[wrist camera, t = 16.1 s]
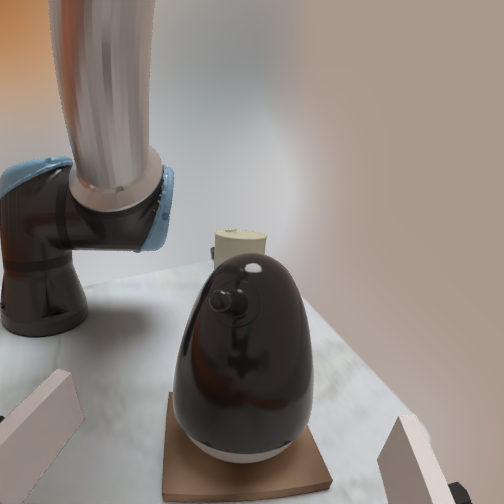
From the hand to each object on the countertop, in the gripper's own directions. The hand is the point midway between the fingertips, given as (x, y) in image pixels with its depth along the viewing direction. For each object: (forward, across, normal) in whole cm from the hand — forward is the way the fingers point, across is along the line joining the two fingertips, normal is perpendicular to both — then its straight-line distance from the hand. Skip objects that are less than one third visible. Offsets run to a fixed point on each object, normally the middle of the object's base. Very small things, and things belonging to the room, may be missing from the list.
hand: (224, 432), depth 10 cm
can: (+46, -5, -12) cm, 47 cm away
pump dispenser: (+10, 0, -11) cm, 14 cm away
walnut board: (+10, 0, -12) cm, 15 cm away
